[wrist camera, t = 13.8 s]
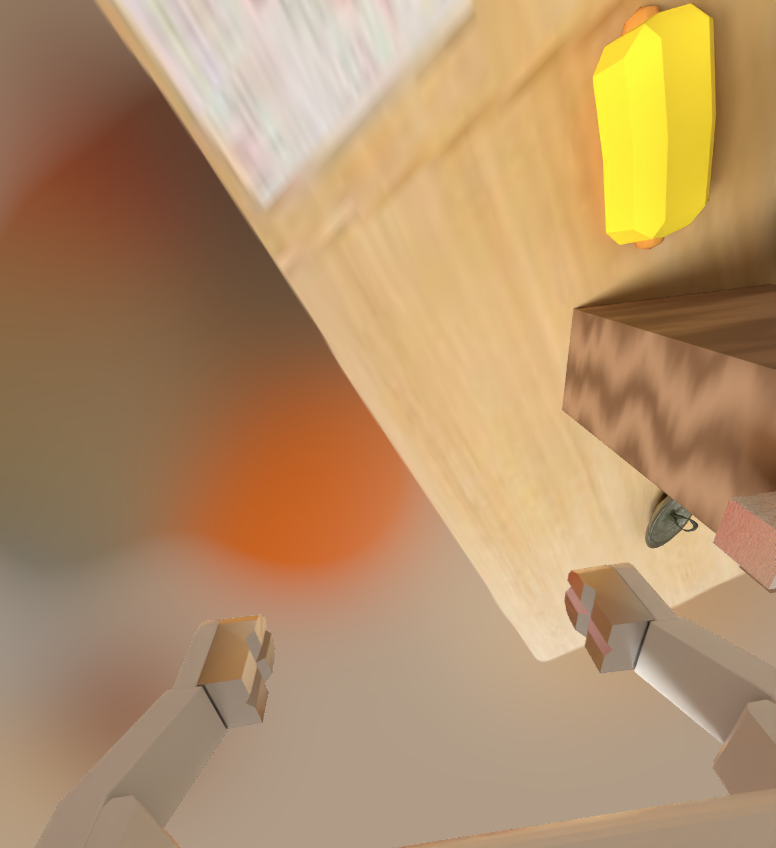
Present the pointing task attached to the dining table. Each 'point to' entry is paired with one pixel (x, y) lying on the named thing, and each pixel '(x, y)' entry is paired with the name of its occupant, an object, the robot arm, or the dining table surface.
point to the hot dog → (656, 122)
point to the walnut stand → (682, 392)
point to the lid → (667, 522)
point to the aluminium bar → (751, 535)
